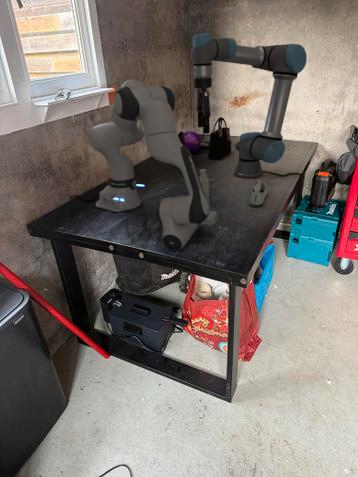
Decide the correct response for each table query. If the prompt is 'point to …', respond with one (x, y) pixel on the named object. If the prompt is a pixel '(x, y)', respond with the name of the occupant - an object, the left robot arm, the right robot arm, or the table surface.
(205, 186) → the ridged cream cylinder
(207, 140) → the pair of gloves
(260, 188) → the ballet flat
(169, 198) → the left robot arm
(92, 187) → the table surface
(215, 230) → the table surface
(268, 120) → the right robot arm
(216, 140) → the handbag
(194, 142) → the decorative orb
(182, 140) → the boot
